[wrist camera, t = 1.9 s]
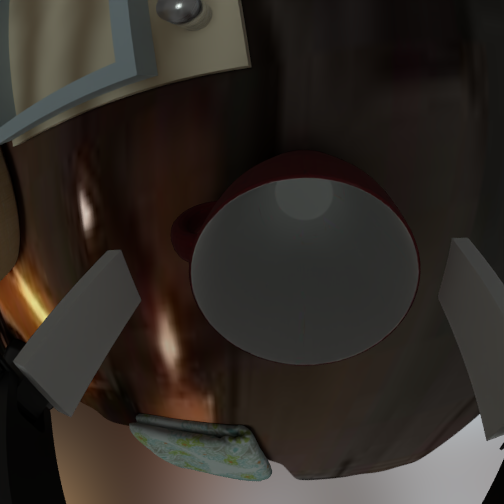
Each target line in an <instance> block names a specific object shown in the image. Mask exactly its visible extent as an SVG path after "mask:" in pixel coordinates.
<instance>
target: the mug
mask: <svg viewBox="0 0 504 504" xmlns="http://www.w3.org/2000/svg"><path fill="white" fill-rule="evenodd" d="M171 241H172V244H173V247H174V250H175V251H176V252H177V254H178V255H179V256H180V257H181V258H182V259H183V260H185V261H187V262H189V278H190V285H191V290H192V293H193V296H194V299H195V302H196V304H197V306H198V308H199V310H200V311H201V313H202V315H203V316H204V318H205V319H206V320H207V322H208V323H209V324H210V325H211V326H212V328H213V329H214V330H215V331H216V332H217V333H218V334H219V335H221V336H222V337H223V338H224V339H226V340H227V341H228V342H230V343H231V344H233V345H234V346H236V347H237V348H239V349H241V350H243V351H245V352H247V353H249V354H251V355H253V356H256V357H258V358H261V359H264V360H268V361H272V362H276V363H281V364H288V365H301V366H307V365H322V364H328V363H334V362H338V361H342V360H345V359H348V358H351V357H354V356H356V355H358V354H361V353H363V352H365V351H367V350H368V349H370V348H372V347H374V346H375V345H377V344H378V343H380V342H381V341H382V340H384V339H385V338H386V337H387V336H389V335H390V334H391V333H392V332H393V331H394V330H395V329H396V328H397V326H398V325H399V324H400V323H401V322H402V320H403V319H404V318H405V316H406V315H407V313H408V311H409V310H410V308H411V306H412V304H413V302H414V299H415V296H416V293H417V290H418V286H419V281H420V258H419V252H418V248H417V244H416V241H415V239H414V236H413V234H412V231H411V229H410V228H409V226H408V224H407V222H406V221H405V219H404V217H403V216H402V214H401V213H400V211H399V210H398V208H397V206H396V205H395V204H394V202H393V201H392V200H391V198H390V197H389V196H388V194H387V193H386V192H385V191H384V189H383V188H382V187H381V186H380V185H379V184H378V183H377V182H376V181H375V180H374V179H372V178H371V177H370V176H369V175H367V174H366V173H365V172H363V171H362V170H360V169H359V168H357V167H356V166H354V165H352V164H350V163H348V162H346V161H344V160H342V159H339V158H336V157H334V156H331V155H328V154H325V153H322V152H318V151H312V150H295V151H289V152H286V153H282V154H280V155H277V156H275V157H273V158H270V159H268V160H266V161H264V162H262V163H260V164H258V165H256V166H254V167H252V168H251V169H249V170H248V171H247V172H245V173H244V174H242V175H241V176H240V177H239V178H238V179H236V180H235V181H234V182H233V183H232V184H231V185H230V186H229V188H228V189H227V190H226V191H225V192H224V193H223V194H222V196H221V197H220V198H219V200H218V201H214V202H208V203H203V204H200V205H197V206H194V207H192V208H190V209H188V210H186V211H185V212H183V213H182V214H181V215H180V216H179V217H178V218H177V219H176V220H175V222H174V223H173V225H172V229H171Z"/></svg>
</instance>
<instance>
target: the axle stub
mask: <svg viewBox="0 0 504 504" xmlns="http://www.w3.org/2000/svg"><path fill="white" fill-rule="evenodd" d="M156 12H157V14H158V16H159V17H160V18H161V19H163V20H165V21H167V22H170V23H172V24H175V25H177V26H179V27H181V28H184V29H186V30H189V31H197V30H200V29H202V28H204V27H205V26H207V25H208V24H209V22H210V21H211V19H212V9H211V7H210V6H209V5H208V4H207V3H205V2H204V1H203V0H158V2H157V4H156Z"/></svg>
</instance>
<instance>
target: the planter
mask: <svg viewBox="0 0 504 504" xmlns="http://www.w3.org/2000/svg"><path fill="white" fill-rule="evenodd" d="M19 245H20V225H19V213H18V205H17V199H16V194H15V189H14V184H13V180H12V176H11V173H10V170H9V166H8V163H7V160H6V157H5V154H4V152H3V149H2V147H1V145H0V281H1V280H2V279H3V278H4V277H5V276H6V275H7V274H8V273H9V272H10V270H11V269H12V268H13V267H14V265H15V263H16V261H17V258H18V253H19Z"/></svg>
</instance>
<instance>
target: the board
mask: <svg viewBox="0 0 504 504" xmlns="http://www.w3.org/2000/svg"><path fill="white" fill-rule="evenodd" d="M203 1H204V2H205V3H207V4H208V5H209V6H210V7H211V9H212V19H211V21H210V22H209V24H208V25H207V26H205V27H204V28H202V29H200V30H197V31H189V30H186V29H184V28H181V27H179V26H177V25H175V24H172V23H170V22H167V21H165V20H163V19H161V18H160V17H159V16H158V14H157V12H156V4H157V2H158V0H148V7H149V16H150V24H151V31H152V38H153V45H154V52H155V59H156V65H157V72H158V76H154V77H151V78H148V79H145V80H142V81H139V82H136V83H133V84H130V85H127V86H124V87H121V88H119V89H116V90H113V91H111V92H108V93H106V94H103V95H101V96H98V97H96V98H93V99H91V100H89V101H86V102H84V103H82V104H80V105H77V106H75V107H73V108H71V109H69V110H67V111H65V112H63V113H61V114H59V115H57V116H55V117H53V118H51V119H49V120H47V121H45V122H43V123H41V124H39V125H38V126H36V127H34V128H32V129H31V130H29V131H27V132H25V133H24V134H22V135H20V136H19V137H17V138H15V139H14V140H12V143H13V147H14V146H16V145H19V144H21V143H23V142H25V141H27V140H29V139H31V138H32V137H34V136H36V135H38V134H40V133H42V132H44V131H46V130H48V129H50V128H52V127H54V126H56V125H58V124H60V123H62V122H65V121H67V120H69V119H71V118H73V117H76V116H78V115H80V114H83V113H85V112H87V111H90V110H92V109H95V108H97V107H100V106H102V105H105V104H108V103H110V102H113V101H116V100H119V99H122V98H125V97H127V96H130V95H133V94H137V93H140V92H143V91H146V90H149V89H153V88H156V87H160V86H163V85H167V84H171V83H175V82H179V81H183V80H187V79H191V78H195V77H200V76H205V75H210V74H215V73H220V72H225V71H231V70H237V69H244V68H251V67H252V66H251V60H250V53H249V47H248V40H247V34H246V28H245V22H244V16H243V10H242V4H241V0H203ZM9 59H10V72H11V82H12V90H13V98H14V104H15V111H16V116H17V115H18V114H20V113H21V112H23V111H24V110H26V109H27V108H29V107H30V106H32V105H34V104H35V103H37V102H38V101H40V100H42V99H43V98H45V97H47V96H48V95H50V94H52V93H54V92H55V91H57V90H59V89H61V88H63V87H64V86H66V85H68V84H70V83H72V82H74V81H76V80H78V79H80V78H82V77H84V76H86V75H88V74H90V73H92V72H94V71H97V70H99V69H101V68H103V67H106V66H108V65H110V64H113V63H115V55H114V47H113V39H112V30H111V21H110V10H109V0H10V2H9Z"/></svg>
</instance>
